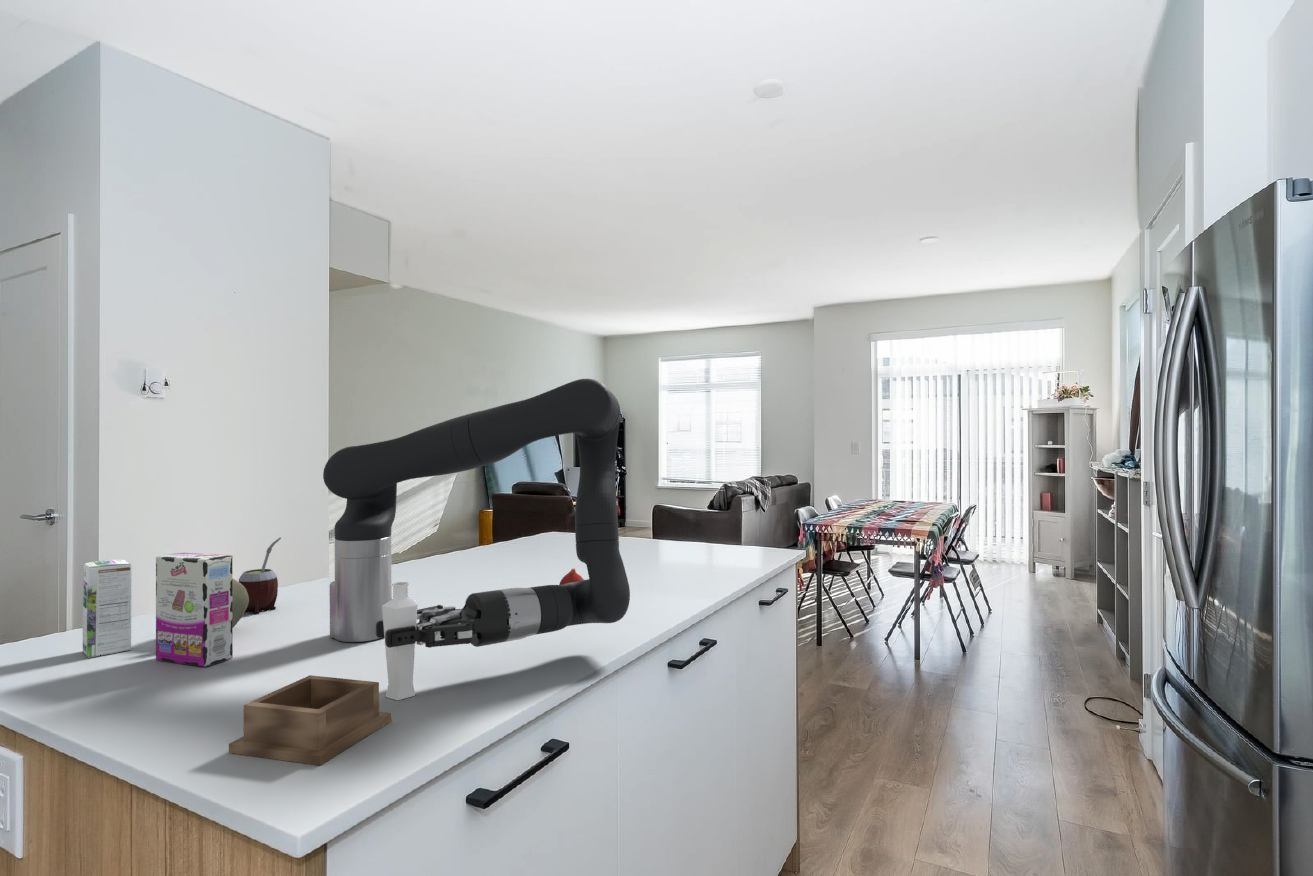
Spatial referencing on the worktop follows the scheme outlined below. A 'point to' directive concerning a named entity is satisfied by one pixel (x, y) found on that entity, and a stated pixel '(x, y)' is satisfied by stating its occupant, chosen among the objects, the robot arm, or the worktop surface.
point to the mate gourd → (261, 586)
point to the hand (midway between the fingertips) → (381, 634)
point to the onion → (571, 577)
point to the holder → (310, 720)
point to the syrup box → (107, 607)
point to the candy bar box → (194, 608)
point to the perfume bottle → (402, 657)
